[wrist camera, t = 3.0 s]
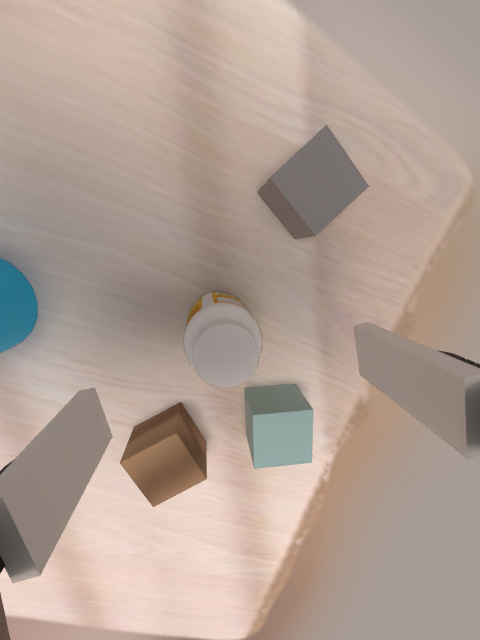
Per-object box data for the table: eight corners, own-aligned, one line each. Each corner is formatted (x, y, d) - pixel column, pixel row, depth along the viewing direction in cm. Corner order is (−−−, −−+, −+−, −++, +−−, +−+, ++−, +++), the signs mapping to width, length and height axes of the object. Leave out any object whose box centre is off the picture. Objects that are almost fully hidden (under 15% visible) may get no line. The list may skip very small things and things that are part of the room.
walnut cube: (134, 426, 28) (119, 463, 23) (180, 401, 28) (176, 433, 23) (161, 465, 29) (153, 507, 24) (206, 441, 29) (206, 479, 24)
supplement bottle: (202, 357, 27) (201, 413, 18) (178, 304, 26) (163, 333, 16) (256, 335, 27) (283, 379, 18) (235, 281, 26) (253, 297, 17)
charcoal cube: (257, 192, 25) (270, 177, 20) (302, 150, 24) (326, 124, 20) (294, 238, 26) (315, 235, 21) (337, 198, 26) (368, 186, 21)
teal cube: (244, 387, 29) (252, 415, 24) (295, 383, 29) (313, 409, 24) (246, 433, 30) (254, 468, 25) (294, 428, 30) (311, 462, 25)
